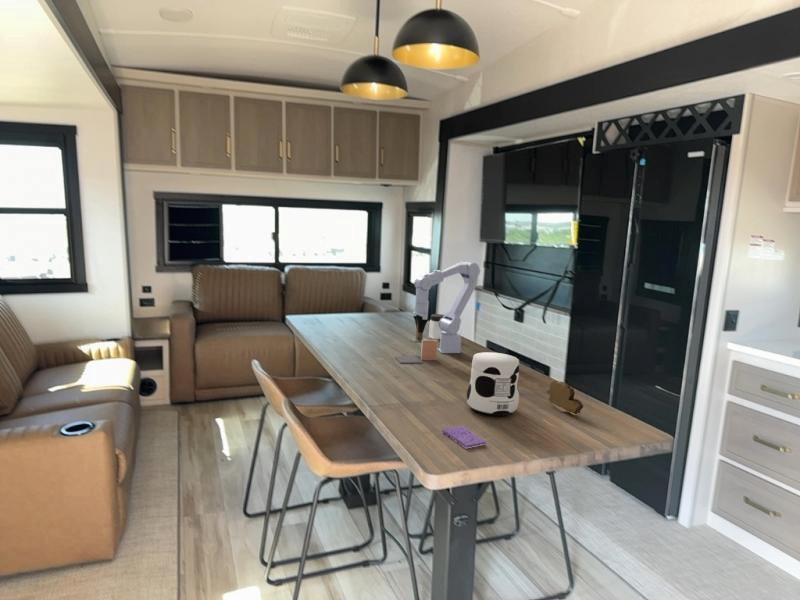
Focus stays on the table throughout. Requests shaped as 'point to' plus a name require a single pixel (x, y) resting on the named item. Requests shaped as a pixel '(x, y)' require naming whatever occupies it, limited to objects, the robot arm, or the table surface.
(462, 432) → the sponges
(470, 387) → the milk container
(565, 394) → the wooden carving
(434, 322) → the jar
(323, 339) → the table surface
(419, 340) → the turner
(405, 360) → the mat
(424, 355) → the tile
